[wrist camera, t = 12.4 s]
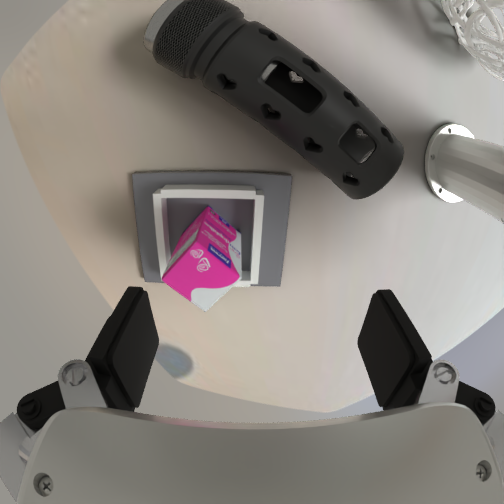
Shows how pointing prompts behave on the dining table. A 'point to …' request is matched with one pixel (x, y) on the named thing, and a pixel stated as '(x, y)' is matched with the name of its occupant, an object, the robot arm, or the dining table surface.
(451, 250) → the dining table surface
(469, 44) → the decorative ball
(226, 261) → the supplement box
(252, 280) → the socket plate
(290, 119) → the muzzle brake
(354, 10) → the dining table surface
